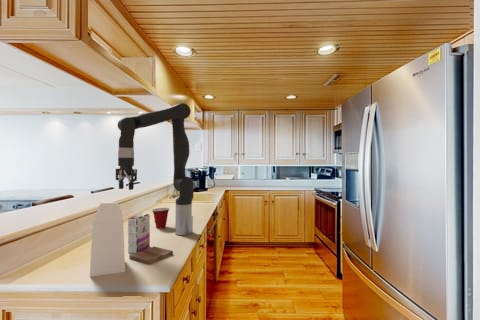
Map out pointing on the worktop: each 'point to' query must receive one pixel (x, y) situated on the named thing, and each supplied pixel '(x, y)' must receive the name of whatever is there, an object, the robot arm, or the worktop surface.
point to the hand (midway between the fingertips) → (126, 189)
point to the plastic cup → (160, 217)
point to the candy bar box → (138, 233)
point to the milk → (107, 241)
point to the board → (150, 255)
